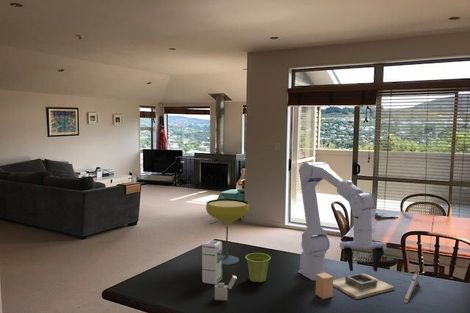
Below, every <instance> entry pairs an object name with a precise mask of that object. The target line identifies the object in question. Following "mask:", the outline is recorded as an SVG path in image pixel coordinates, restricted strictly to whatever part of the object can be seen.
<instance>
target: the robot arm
mask: <svg viewBox="0 0 470 313" xmlns="http://www.w3.org/2000/svg"><path fill="white" fill-rule="evenodd" d="M330 166H331V165H329V164H327V163H326V162H325V161H317V162H316V161H315V162H307V161H305V162H303V163H302V164H301V165H300V167H299V169H298V173H299V180H300V182H299V183H300V187H301V188H300V189H301V197H302V203H303V209H304V211H303V212H304V219H305V226H306V229H305V230H304V231H303V232H302V233H301V250H302V251H301V254H300V255H299V257H300V258H299V259H300V260H299V270H297V272H298V273H299V274H300V275H302V276H303V277H306V278H308V279H309V280H311V281H316V274H320V273H325V262H326V261H325V258H326V254H327V251H328V250H329V249H330V246H331V243H330V239H329V237H328V234H327V231H326V230H325V229H324V228H323V227H322V226H321V219H320V213H319V212H320V211H319V210H320V209H319V205H318V196H317V190H316V187H317V185H318V184H319V183H320V182H321V181H322V180H324V181H327V182H328V183H329V184H330V185H332V186H333V187H335V189H336V191H337V193H338V195H340V196H341V197H342V198H343V199H345V200H346V201H347V202H348V204H349V207H350V209H351V214H352V216H353V217H352V218H353V222H352V224H353V225H352V226H353V240H350V241H339V249H341V250H343V252H344V254H345V257H346V259H347V263H348V268H349V271H350V272H353V271H354V266H353V265H354V263H353V261H354V260H353V259H354V251H353V249H355V250H358V249H362V250H363V249H364V250H365V249H366V250H367V249H369V250H370V249H371V250H372V259H373V260H372V269H373V271H374V272H375V273H376V272H378V269H379V265H380V262H381V260H382V257H383V256H384V254H385V251H384V250H387V243H386V242H384V241H373V226H372V225H373V224H372V223H373V219H372V218H373V217H372V216H373V215H372V212H373V211H372V210H373V209H374V208H375V206H376V199H375V196H374V195H373V194H372V193H371V192H369V191H363V189H362V188H359V187H358V186H357V185H355V184H354V183H353V181H352V180H350V179H349V180H348V179H344V180H343V179H342V178H341V176H339V175H338V174H337V173H336V172H335V171H334V170H332V169H331V167H330Z"/></svg>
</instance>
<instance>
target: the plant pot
mask: <svg viewBox="0 0 470 313" xmlns="http://www.w3.org/2000/svg"><path fill="white" fill-rule="evenodd" d="M271 259H272V258H271V256H270V255H269V254H266V253H263V252H252V253H248V254H246V255H245V260H246V263H247V267H248V268H247V269H248V277H249V280H250V281H251V282H253V283H257V282H258V283H263V282H265V281H267V274H268V273H267V272H268V269H269V268H268V267H269V263H270V261H271Z"/></svg>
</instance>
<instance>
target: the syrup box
mask: <svg viewBox="0 0 470 313" xmlns="http://www.w3.org/2000/svg"><path fill="white" fill-rule="evenodd" d="M201 249H202V250H201V252H202V253H201V255H202V256H201V258H202V260H201V267H202V268H201V269H202V270H201V272H202V273H201V276H202V283H204V284H211V285H217V284H218V283H220V281H221V280H222V279H223V265H222V256H223V242H222V240H216V239H208V240H207V241H206V242H204V243H202V246H201Z"/></svg>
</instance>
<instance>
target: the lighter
mask: <svg viewBox="0 0 470 313" xmlns="http://www.w3.org/2000/svg"><path fill="white" fill-rule="evenodd" d="M236 281H237V276H236V275H234V274H232V276H231V278H230V280H229V282H228V284H227V285H225V282H218V283H217V284H214V300H215V301H228V292H229V291H228V289H230V290H232V289H233V286H234V284H235V283H236Z"/></svg>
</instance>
